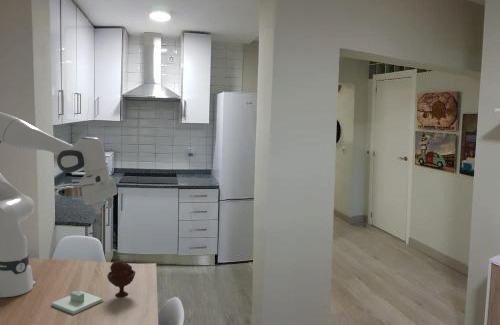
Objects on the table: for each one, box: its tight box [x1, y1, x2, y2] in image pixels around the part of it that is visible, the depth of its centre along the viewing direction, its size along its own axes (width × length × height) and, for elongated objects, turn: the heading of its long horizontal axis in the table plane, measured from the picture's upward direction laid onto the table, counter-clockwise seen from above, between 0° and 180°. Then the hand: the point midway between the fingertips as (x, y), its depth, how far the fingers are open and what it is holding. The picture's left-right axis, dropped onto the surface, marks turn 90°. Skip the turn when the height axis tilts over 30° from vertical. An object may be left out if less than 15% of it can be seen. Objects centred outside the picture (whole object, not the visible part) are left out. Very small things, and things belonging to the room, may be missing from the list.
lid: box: [51, 290, 103, 315], centre depth 162 cm, size 13×13×4 cm
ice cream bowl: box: [106, 260, 136, 298], centre depth 170 cm, size 11×11×15 cm
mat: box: [50, 300, 105, 316], centre depth 162 cm, size 14×14×1 cm
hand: (104, 210), depth 167 cm, fingers open, 8 cm apart
